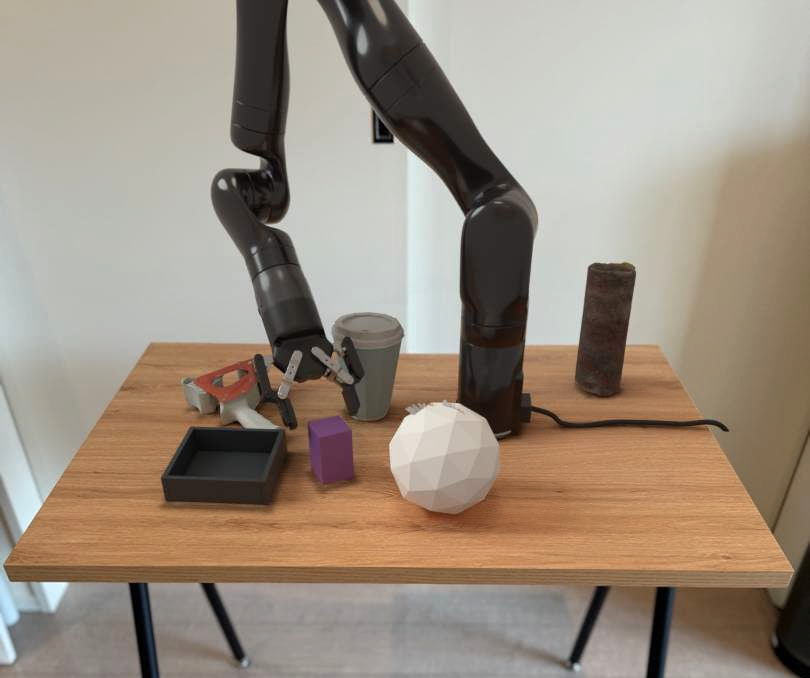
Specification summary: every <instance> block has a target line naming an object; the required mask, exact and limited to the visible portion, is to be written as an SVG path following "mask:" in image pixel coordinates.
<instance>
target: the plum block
mask: <svg viewBox="0 0 810 678" xmlns="http://www.w3.org/2000/svg"><path fill="white" fill-rule="evenodd" d="M306 425H307V436H308V447H309V449H308V450H309V462H310V470H311V471H312V473H313V474H314V475H315V477H316V478H317V480H318V481H319V482H320V483H321V485H322V486H326V485H329V484H334V483H337V482H341V481H345V480H348V479H354V477H355V470H354V469H355V468H354V450H353V449H354V448H353V446H354V445H353V430H352V428H351V427H350V426H349V425H348V424H347V423H346V422H345V420H344V419H343V418H342V417H341V415H339V414H338V415H334V416H328V417H324V418H319V419H316V420H315V419H314V420H311V421H307V424H306Z"/></svg>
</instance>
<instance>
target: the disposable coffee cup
mask: <svg viewBox="0 0 810 678" xmlns="http://www.w3.org/2000/svg"><path fill="white" fill-rule="evenodd" d="M330 331H331V332H330V334H331V337H332V340H333V343H335V342H338V341H342V340H343V339H344V337H350V338H351V340H352V342H353V345H354V347H355V350H356V352H357V355H358V357H359V360H360V362H361V365H362V367H363V370H364V372H365V375H364V376H363V378H362V379H361V381H360V382H359V383H358V384H355V389H356V392H357V395H358V398H359V401H360V408H359V409H358V413H357V414H356V415H355V416H352V417H351V418H353V419H354V420H357V421H361V422H373V421H374V422H375V421H379V420H381V419H383V418H385V417H386V415H387V414H388V412H389V410H390V408H391V403H392V397H393V392H394V386H395V379H396V376H397V375H396V374H397V369H398V363H399V358H400V352H401V348H402V347H401V346H402V341H403V339H404V337H405V330H404V328H403V326H402V324H401V322H400V321H399V320H398V318H397V317H394V316H391V315H389V314H386V313H381V312H374V311H373V312H372V311H364V312H362V311H361V312H351V313H348V314H344V315H341V316H340V317H338V318H337V319H336V320H335V321H334V324H333V325H332V326H331V330H330ZM335 356H336V360H337V363H338V364H339V365H340V366H341V367H342V369H343V370H344V371H345V372H347V373H348V374H349V372H348V369H347V367H346V364H345V362H344V359H343V358H341V357H339V356H338V354H337V353H336V352H335ZM349 375H350V374H349ZM341 390H342V391H343V389H342V388H341ZM344 407H345V409H346V412H347V413H348V410H347V407H346V404H345V403H344Z"/></svg>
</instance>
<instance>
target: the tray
mask: <svg viewBox="0 0 810 678" xmlns="http://www.w3.org/2000/svg"><path fill="white" fill-rule="evenodd" d="M287 453H288V444H287V435H286V429H284V428H283V429H256V428H244V427H226V426H225V427H224V426H223V427H221V426H194V425H193V426H192V425H190V426H189V427H188V429H187V431H186V433H185V435H184V436H183V437H182V440H181V442H180V444H179V445H178V446H177V448H176V450H175V452H174V454H173V456H172V457H171V459H170V460H169V463H168V464H167V466H166V467H165V470H164V471H163V473H162V474H161V476H160V481H161V485H162V490H163V494H164V499H165V502H175V503H177V502H178V503H199V504H201V503H202V504H203V503H204V504H206V503H207V504H231V505H254V506H269V504H270V501H271V498H272V497H273V496H272V495H273V493H274V490H275V487H276V484H277V481H278V479H279V476H280V473H281V471H282V468H283V465H284V462H285V460H286V456H287Z"/></svg>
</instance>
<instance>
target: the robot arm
mask: <svg viewBox="0 0 810 678" xmlns="http://www.w3.org/2000/svg"><path fill="white" fill-rule="evenodd" d="M289 1H290V0H235V13H236V15H235V17H236V18H235V20H236V25H235V26H236V28H235V29H236V30H235V31H236V32H235V36H236V37H235V60H234V61H235V62H234V74H233V75H234V76H233V87H232V100H231V111H230V122H229V123H230V124H229V125H230V126H229V137H230V141H231V143H232V145H233V146H234V147H235V148H236V149H237V150H239V151H241V152H243V153H245V154H248V155H252V156H254V157H258V158H259V168H244V167H243V168H239V167H227V168H223V169H220V170H219V171H218V172H216V174H214V176H213V179H212V180H211V184H210V201H211V205H212V208H213V211H214V213H215V215H216V217H217V220H218V222H219V223H220V224H221V226H222V227H223V229H224V230H225V232H226V233H227V235H228V236H229V238H230V239H231V240H232V242H233V244H234V246H235V247H236V249H237V250H238V252H239V253H240V255H241V257H242V258H243V260H244V263H245V267H246V269H247V273H248V275H249V279H250V282H251V284H252V289H253V292H254V300H255V302H256V306H257V312H258V315H259V316H260V318H261V322H262V325H263V327H264V330H265V333H266V337H267V340H268V343H269V346H270V349H271V353H272V354H269V355H262V354H261V353H256V354H255V355H254V356H253V358H254V359H253V362H252V369H253V372H254V376H255V380H256V384H257V388H258V392H259V396H260V402H261V403H262V404H269V403H271V404H274V405H275V406H276V407H277V409H278V412H279V416H280V418H281V422H282V424H283V425H284V427H285V428H288V429H289V430H290V431H294V430H295V431H296V430H297V428H298V426H299V423H298V420H297V416H296V414H295V411H294V408H293V405H292V401H291V398H288V395H289V394H288V393H289V391H290V389H291V386H292V384H293V382H295V383H297V384H303V383H305V382H308V381H317V380H321V378H322V377H323V378H324V379H326V380H327V381H329V382H330V383H333V384H335V385H336V386H338V387H339V388H340V389H341V390H342V389H343V390H342V391H341V395H342V398H343V401H344V405H345V404H346V406H345V408H346V407H347V409H346V411H347V410H348V412H347V413H348V416H349V418H350V417H351V418H353V417H352V416H355V415H356V414H357V413H358V409H359V408H360V401H359V398H358V395H357V392H356V389H355V384H358V383H359V382H360V381H361V379H362V378H363V376H364V375H365V372H364V370H363V367H362V365H361V362H360V360H359V357H358V355H357V352H356V350H355V347H354V345H353V342H352V340H351V338H350V337H344V339H343V340H342V341H338V342H335V343H334V342H331V341H330V340H329V339H328V337H327V335H326V331H325V328H324V324H323V322H322V319H321V315H320V312H319V310H318V307H317V304H316V301H315V298H314V295H313V291H312V289H311V286H310V284H309V281H308V279H307V277H306V275H305V273H304V271H303V269H302V265H301V263H300V259H299V256H298V253H297V250H296V246H295V244H294V241H293V239H292V237H291V235H289V233H288V232H287V231H285V230H282V229H280V228H276V227H272V226H270V225H276V224H279V223H280V222H282V221H283V220H284V219H285V217H286V216H287V214H288V212H289V210H290V207H291V202H292V201H291V200H292V199H291V197H292V196H291V188H290V181H289V175H288V166H287V165H288V164H287V154H286V153H287V152H286V132H287V124H288V117H289V108H290V101H291V100H290V98H291V82H292V81H291V63H290V53H289V51H290V50H289V42H288V13H289V12H288V11H289ZM316 2H318V4H319V6H320V7H321V9H322V11H323V12H324V14H325V16H326V19H327V20H328V22H329V24H330V26H331V29H332V32H333V33H334V36H335V39H336V41H337V44H338V46H339V49H340V52H341V54H342V57H343V60H344V61H345V64H346V66H347V69H348V70H349V73H350V75H351V77H352V79H353V81H354V83H355V85H356V86H357V87H358V90H359V91H360V92H361V95H362V96H363V97H364V99H365V100H366V101H367V103H368V104H369V106H370V107H371V108H372V110H373V111H374V112H375V114H376V116H377V117H378V118H379V120H380V121H381V122H382V123H383V125H384V126H385V127H386V128H387V130H388V131H389V132H390V133H391V134H392V135H393V137H394V138H396V139H397V141H399V142H400V143H401V144H402V145H403V146H404V147H405V148H406V149H407V150H409V152H411V153H412V154H413V155H415V156H416V157H417V158H418V159H420V161H422V163H424V164H425V165H426V166H428V167H429V169H431V170H432V171H433V172H434V173H435V174H436V176H438V178H439V179H440V180H441V181H442V182H443V184H444V186H445V187H446V188H447V189H448V191H449V193H450V194H451V196H452V197H453V199H454V200H455V202H456V204H457V205H458V208H459V209H460V211H461V212H462V214H463V216H464V220H463V223H462V227H461V232H460V233H461V234H460V243H459V244H460V245H459V246H460V248H459V249H460V250H459V284H458V285H459V286H458V290H459V292H458V293H459V298H460V330H459V331H460V332H459V349H458V351H459V352H458V371H457V373H458V374H457V394H456V395H457V396H456V400H455V403H459V404H461V405H463V406H465V407H466V408H468V409H470V410H472V411H473V412H475V413H477V414H479V415H480V416H482V417H484V418H485V419H486V420H487V422H488V424H489V426H490V428H491V430H492V432H493V434H494V436H495V438H496V440H500V439H504V438H508V437H510V436H518V435H519V431H520V423H521V424H530V423H531V417H532V412H533V413H537V414H541V415H544V416H546V417H549V418H550V419H552V420H553V421H554V423H556V424H557V425H559V426H561V427H565V428H569V429H584V428H585V429H586V428H597V427H605V426H607V427H608V426H619V425H620V426H626V425H627V426H631V425H633V426H658V427H660V426H661V427H682V428H683V427H696V426H714V427H717V428H719V429H720V430H721V431H722V432H725V433H729V432H730V429H729V428H728V427H727V426H726V425H725V424H724V423H722V422H721V421H718V420H715V419H708V418H707V419H696V420H686V421H685V420H683V421H679V420H661V419H659V420H658V419H627V418H625V419H622V418H620V419H619V418H618V419H617V418H616V419H606V420H597V421H591V422H569V421H565V420H562V419H561V418H560V417H559V416H558V415H557V414H556V413H554V412H553V411H550V410H548V409H545V408H542V407H537V406H533V405H532V398H531V393H530V392H523V390H524V379H525V374H524V362H525V353H526V352H525V351H526V343H527V342H526V341H527V330H528V321H529V309H530V283H531V273H532V262H533V261H532V260H533V253H534V252H533V251H534V243H535V239H536V236H537V233H538V230H539V213H538V209H537V207H536V204H535V202H534V201H533V199H532V197H531V196H530V194H529V193H528V192H527V191H526V190H525V188H524V187H523V186H522V185H521V184H520V183H519V182H518V180H517V179H516V178H515V176H514V175H513V174H512V173H511V172H510V170H509V169H508V168H507V167H506V165H505V164H504V163H503V162H502V161H501V160H500V158H499V157H498V156H497V154H495V152H494V151H493V150H492V148H491V147H490V145H489V144H488V143H487V142H486V140H485V138H484V137H483V135H482V133H481V132H480V130H479V129H478V127H477V125H476V123H475V122H474V120H473V118H472V116H471V114H470V113H469V111H468V110H467V107H466V106H465V105H464V103H463V101H462V99H461V98H460V96H459V94H458V93H457V91H456V90H455V88H454V86H453V85H452V83H451V82H450V79H449V78H448V76H447V75H446V74H445V71H444V70H443V68H442V67H441V65H440V63H439V62H438V61H437V59H436V57H435V56H434V55H433V53H432V51H431V50H430V48H429V47H428V45H427V44H426V43H425V42H424V39H423V38H422V36H421V35H420V34H419V33H418V31H417V30H416V29H415V27H414V25H412V23H411V21H410V20H409V19H408V17H407V15H406V14H405V12H404V11H403V10H402V9H401V8H400V6H399V4H398V3H397V2H396V0H316ZM334 353H335V354H336V353H337V354H338V356H339V357H341V358H343V359H344V362H345V364H346V367H347V369H348V372H349V374H350V375H349V374H348V373H347V372H345V371H344V370H343V369H342V367H341V366H340V365H339V364H338V362H336V360H334V359H333V358H332V357H333V354H334ZM271 365H272V366H274V367H275V369H277V370H279V371H280V373H282V374H284V375H283V378H282V380H281V383H280V385H279V388H278V390H274V389H272V386H271V382H270V379H269V378H270V377H269V374H267V373H269V372H270V371H271Z"/></svg>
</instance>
